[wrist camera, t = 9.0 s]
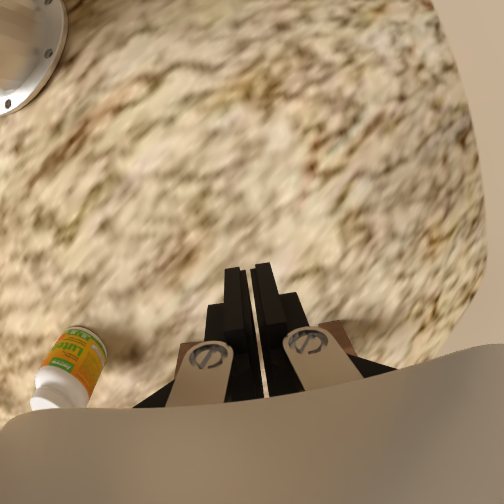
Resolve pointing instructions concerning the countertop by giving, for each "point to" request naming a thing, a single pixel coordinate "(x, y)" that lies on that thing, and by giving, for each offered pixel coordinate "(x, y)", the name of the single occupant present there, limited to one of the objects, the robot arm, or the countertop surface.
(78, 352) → the supplement bottle
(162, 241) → the countertop surface
